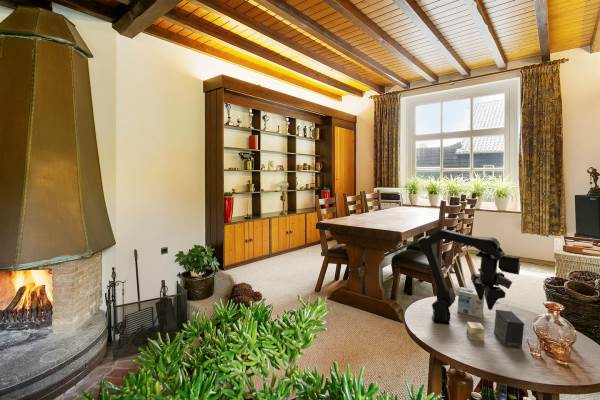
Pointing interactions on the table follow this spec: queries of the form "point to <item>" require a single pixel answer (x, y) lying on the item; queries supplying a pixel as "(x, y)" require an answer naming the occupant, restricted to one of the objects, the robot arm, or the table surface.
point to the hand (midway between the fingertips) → (485, 304)
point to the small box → (509, 328)
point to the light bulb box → (470, 302)
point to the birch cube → (475, 331)
